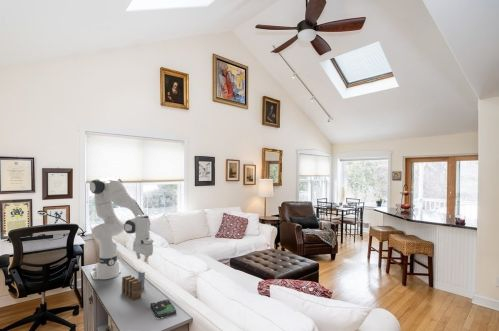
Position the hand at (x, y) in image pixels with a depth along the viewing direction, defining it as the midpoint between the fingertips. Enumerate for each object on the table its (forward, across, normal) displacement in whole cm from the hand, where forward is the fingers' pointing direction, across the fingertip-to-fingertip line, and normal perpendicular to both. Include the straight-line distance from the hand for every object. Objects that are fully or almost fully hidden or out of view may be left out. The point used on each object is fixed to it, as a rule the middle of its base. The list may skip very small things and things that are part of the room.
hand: (142, 260), depth 177 cm
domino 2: (+18, +4, -10) cm, 21 cm away
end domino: (+18, 0, 0) cm, 18 cm away
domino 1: (+18, 0, -10) cm, 20 cm away
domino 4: (+18, +13, -10) cm, 24 cm away
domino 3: (+18, +9, -10) cm, 22 cm away
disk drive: (+19, +37, -7) cm, 43 cm away
